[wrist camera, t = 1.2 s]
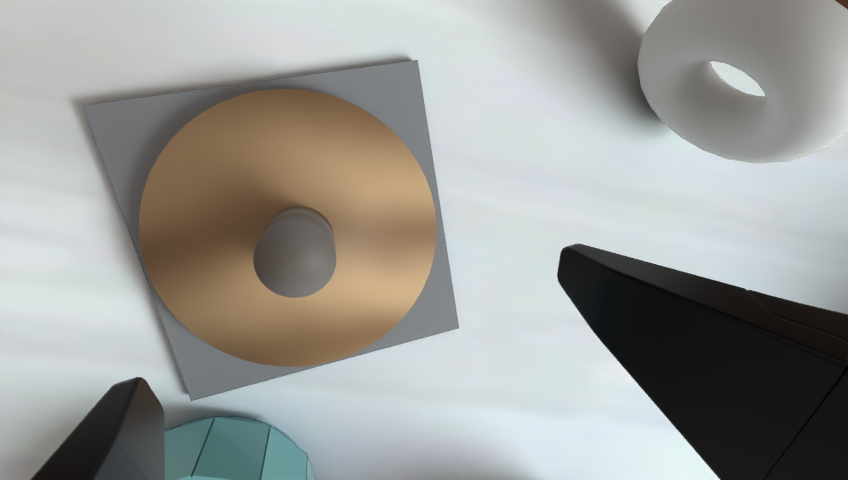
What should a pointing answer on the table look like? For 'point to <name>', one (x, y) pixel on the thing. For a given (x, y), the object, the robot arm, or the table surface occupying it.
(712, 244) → the table surface
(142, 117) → the mat
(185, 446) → the bowl
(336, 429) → the table surface
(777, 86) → the donut
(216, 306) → the lid
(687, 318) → the robot arm
